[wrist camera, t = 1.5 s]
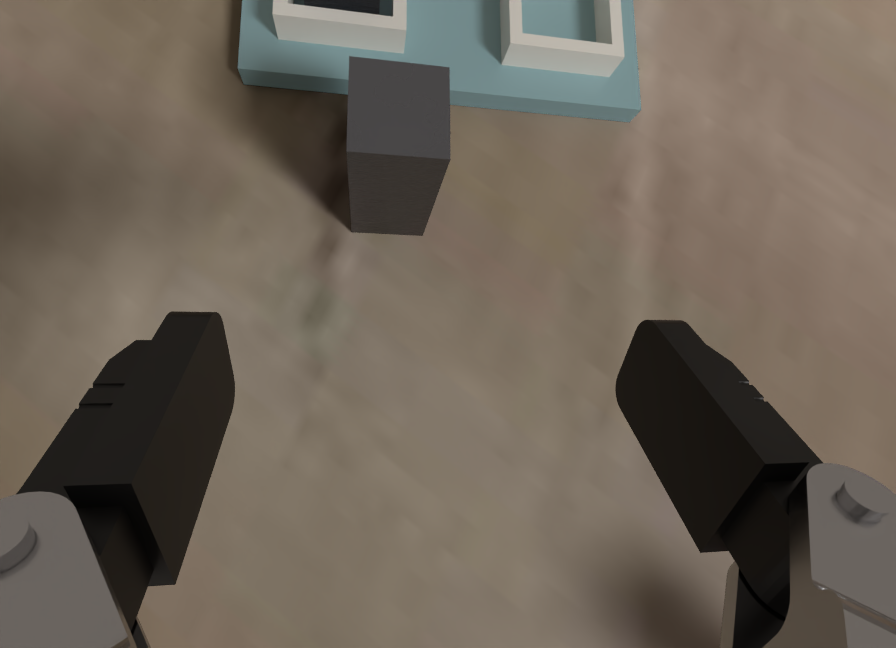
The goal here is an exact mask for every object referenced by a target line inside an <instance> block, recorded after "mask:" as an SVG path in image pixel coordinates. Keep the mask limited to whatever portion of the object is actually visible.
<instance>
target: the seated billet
mask: <svg viewBox="0 0 896 648" xmlns="http://www.w3.org/2000/svg"><path fill="white" fill-rule="evenodd" d="M304 5H305V6H313V7H321V8H329V9H337V10H345V11H353V12H361V13H368V14H376V15H379V7H380V0H304Z"/></svg>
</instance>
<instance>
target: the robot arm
mask: <svg viewBox="0 0 896 648" xmlns="http://www.w3.org/2000/svg"><path fill="white" fill-rule="evenodd" d="M234 397H235V382H234V375H233V370H232V365H231V360H230V355H229V350H228V345H227V340H226V335H225V330H224V325H223V321H222V318H221V316H220V314H219V313H217V312H170V313H168V314H167V316H166V317H165V319H164V320H163V322H162V324H161V325H160V327H159V329H158V330H157V332H156V334H155V335H154V337H153V338H152V340H136V341H134V342H133V343H132V344H130V345H129V346H127V347H126V348H125V349H123V350H122V351H121V352H119V353H118V354H116V355H115V356H114V357H112V358H111V359H110V360H109V361H108V362H107V364H106V365H105V366H104V368H103V369H102V371H101V372H100V374H99V375H98V377H97V378H96V380H95V381H94V383H93V388H89V390H88V391H87V393H86V394H85V396H84V397H83V399H82V400H81V401H80V403H79V409H75V410H74V412H73V413H72V415H71V416H70V417H69V419H68V420H67V422H66V423H65V425H64V426H63V428H62V429H61V431H60V432H59V434H58V435H57V436H56V438H55V439H54V441H53V442H52V444H51V445H50V447H49V448H48V450H47V451H46V452H45V454H44V455H43V457H42V458H41V460H40V461H39V463H38V464H37V466H36V467H35V468H34V470H33V471H32V473H31V474H30V476H29V477H28V479H27V480H26V482H25V483H24V485H23V486H22V487H21V489H20V490H19V491H18V493H17V494H16V495H13V496H9V497H6V498H3V499H0V648H151V647H150V645H149V642H148V640H147V638H146V635H145V633H144V631H143V628H142V626H141V624H140V621H139V619H138V617H137V614H138V611H139V609H140V606H141V603H142V600H143V598H144V595H145V592H146V590H147V587H148V586H160V585H175V584H176V581H177V578H178V575H179V572H180V569H181V566H182V563H183V560H184V557H185V553H186V550H187V547H188V544H189V541H190V538H191V535H192V532H193V529H194V526H195V523H196V520H197V517H198V514H199V511H200V508H201V505H202V502H203V498H204V495H205V492H206V489H207V486H208V483H209V480H210V477H211V474H212V471H213V468H214V465H215V462H216V459H217V456H218V453H219V450H220V447H221V444H222V440H223V437H224V434H225V431H226V428H227V425H228V422H229V419H230V416H231V413H232V409H233V405H234ZM616 398H617V402H618V405H619V407H620V409H621V411H622V413H623V414H624V416H625V418H626V420H627V422H628V423H629V425H630V427H631V429H632V431H633V432H634V434H635V436H636V438H637V440H638V441H639V443H640V445H641V447H642V449H643V450H644V452H645V454H646V456H647V458H648V459H649V461H650V463H651V465H652V467H653V468H654V470H655V472H656V474H657V476H658V477H659V479H660V481H661V483H662V485H663V486H664V488H665V490H666V492H667V494H668V495H669V497H670V499H671V501H672V503H673V504H674V506H675V508H676V510H677V512H678V513H679V515H680V517H681V519H682V521H683V522H684V524H685V526H686V528H687V530H688V531H689V533H690V535H691V537H692V538H693V540H694V542H695V544H696V546H697V547H698V549H699V551H700V553H703V552H719V551H729V552H730V554H731V555H732V557H733V559H734V560H735V561H734V562H733V564H732V565H731V566H730V568H729V570H728V573H727V579H726V589H725V599H724V608H723V618H722V628H721V638H720V647H719V648H896V495H895V494H894V493H893V492H892V491H891V490H889V489H888V488H887V487H886V486H884V485H883V484H881V483H880V482H878V481H877V480H875V479H873V478H872V477H870V476H868V475H866V474H864V473H862V472H860V471H857V470H855V469H852V468H849V467H847V466H843V465H839V464H832V463H823V462H822V461H821V460H820V459H819V458H818V457H817V456H816V454H815V453H814V452H813V451H812V450H811V449H810V448H809V447H808V446H807V445H806V443H805V442H804V441H803V440H802V439H801V438H800V437H799V436H798V435H797V434H796V432H795V431H794V430H793V429H792V428H791V427H790V426H789V425H788V424H787V423H786V421H785V420H784V419H783V418H782V417H781V416H780V415H779V414H778V413H777V411H776V410H775V409H774V408H773V407H772V406H771V405H770V404H769V403H768V402H764V400H763V398H764V397H763V396H762V395H761V394H760V393H759V392H758V391H757V389H756V388H755V387H754V386H753V385H749V381H748V379H747V378H746V377H745V376H744V375H743V374H742V373H741V372H740V371H739V370H738V368H737V367H736V366H735V365H734V364H733V363H732V362H731V361H730V360H728V359H727V358H725V357H724V356H722V355H721V354H719V353H718V352H716V351H715V350H713V349H712V348H710V347H709V346H708V345H706V344H705V343H704V342H703V341H702V339H701V338H700V337H699V336H698V335H697V334H696V333H695V332H694V330H693V329H692V328H691V327H690V326H689V325H688V324H687V323H686V322H684V321H681V320H644V321H642V322H641V323H640V324H639V325H638V327H637V329H636V331H635V334H634V336H633V339H632V341H631V344H630V346H629V349H628V351H627V354H626V356H625V359H624V361H623V364H622V366H621V369H620V371H619V374H618V377H617V380H616Z"/></svg>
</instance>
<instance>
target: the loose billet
mask: <svg viewBox="0 0 896 648" xmlns="http://www.w3.org/2000/svg"><path fill="white" fill-rule="evenodd" d="M346 152H347V168H348V183H349V199H350V215H351V231H352V232H359V233H379V234H398V235H418V236H423V233H424V230H425V228H426V225H427V222H428V219H429V217H430V214H431V211H432V208H433V206H434V203H435V200H436V197H437V195H438V192H439V189H440V186H441V184H442V181H443V178H444V175H445V173H446V170H447V167H448V164H449V162H450V67H443V66H434V65H425V64H416V63H407V62H398V61H389V60H380V59H371V58H362V57H353V56H349V78H348V115H347V151H346Z"/></svg>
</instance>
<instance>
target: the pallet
mask: <svg viewBox="0 0 896 648" xmlns="http://www.w3.org/2000/svg"><path fill="white" fill-rule="evenodd" d="M349 56H353V57H362V58H371V59H380V60H389V61H398V62H407V63H416V64H425V65H434V66H443V67H450V105H459V106H469V107H480V108H490V109H500V110H510V111H520V112H531V113H541V114H551V115H561V116H571V117H582V118H592V119H602V120H612V121H622V122H630V121H631V120H632V119H633V118H634V117H635V116H636V115H637V114H638V113H639V112H640V111H641V101H640V88H639V75H638V61H637V48H636V34H635V21H634V8H633V0H380V7H379V15H376V14H368V13H361V12H353V11H345V10H337V9H329V8H321V7H313V6H305V5H304V0H242V11H241V26H240V41H239V56H238V71H239V73H240V76H241V79H242V81H243V84H245V85H255V86H266V87H276V88H286V89H296V90H306V91H316V92H327V93H337V94H347V95H348V78H349Z"/></svg>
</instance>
